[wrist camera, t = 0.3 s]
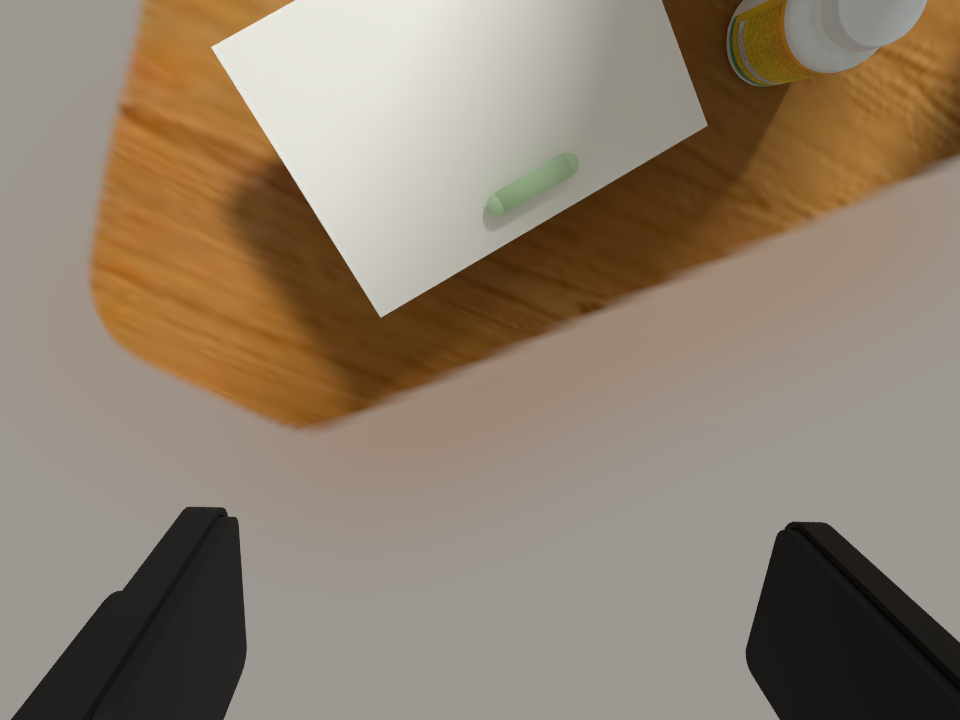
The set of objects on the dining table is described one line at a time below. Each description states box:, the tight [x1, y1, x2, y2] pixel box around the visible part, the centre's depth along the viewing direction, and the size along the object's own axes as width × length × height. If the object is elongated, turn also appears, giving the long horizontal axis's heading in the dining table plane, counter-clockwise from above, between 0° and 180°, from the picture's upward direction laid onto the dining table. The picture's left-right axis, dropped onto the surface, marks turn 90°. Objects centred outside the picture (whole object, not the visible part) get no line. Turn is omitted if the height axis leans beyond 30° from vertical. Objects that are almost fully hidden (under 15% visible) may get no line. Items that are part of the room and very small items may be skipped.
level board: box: [211, 0, 708, 318], centre depth 28 cm, size 20×14×3 cm
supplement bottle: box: [727, 0, 927, 87], centre depth 29 cm, size 5×5×10 cm
